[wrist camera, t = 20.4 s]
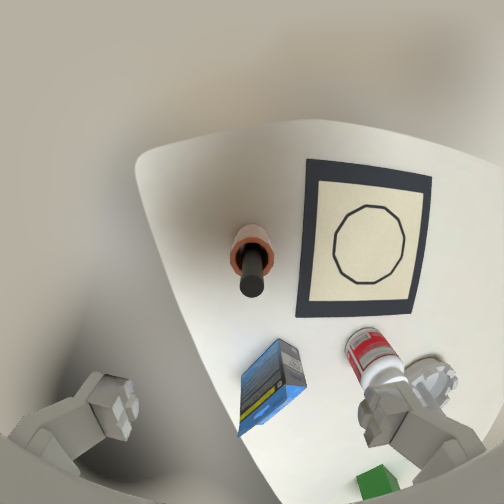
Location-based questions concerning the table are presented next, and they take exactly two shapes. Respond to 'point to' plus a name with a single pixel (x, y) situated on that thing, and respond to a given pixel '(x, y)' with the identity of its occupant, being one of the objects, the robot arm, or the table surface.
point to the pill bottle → (374, 359)
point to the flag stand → (431, 382)
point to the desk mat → (361, 240)
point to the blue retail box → (270, 385)
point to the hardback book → (377, 483)
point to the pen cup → (252, 235)
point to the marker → (252, 271)
